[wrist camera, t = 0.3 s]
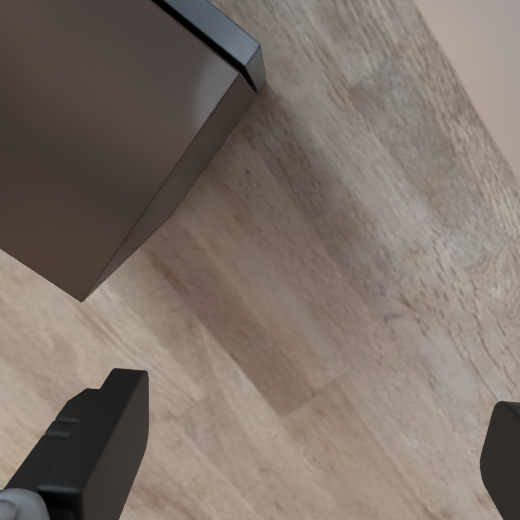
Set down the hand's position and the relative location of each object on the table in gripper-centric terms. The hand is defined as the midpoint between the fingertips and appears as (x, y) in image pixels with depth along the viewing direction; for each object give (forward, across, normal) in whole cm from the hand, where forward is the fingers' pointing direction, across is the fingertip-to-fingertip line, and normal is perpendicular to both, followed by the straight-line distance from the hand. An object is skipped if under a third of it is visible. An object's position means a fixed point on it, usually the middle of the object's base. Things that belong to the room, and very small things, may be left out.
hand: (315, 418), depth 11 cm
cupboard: (+28, +13, -7) cm, 31 cm away
